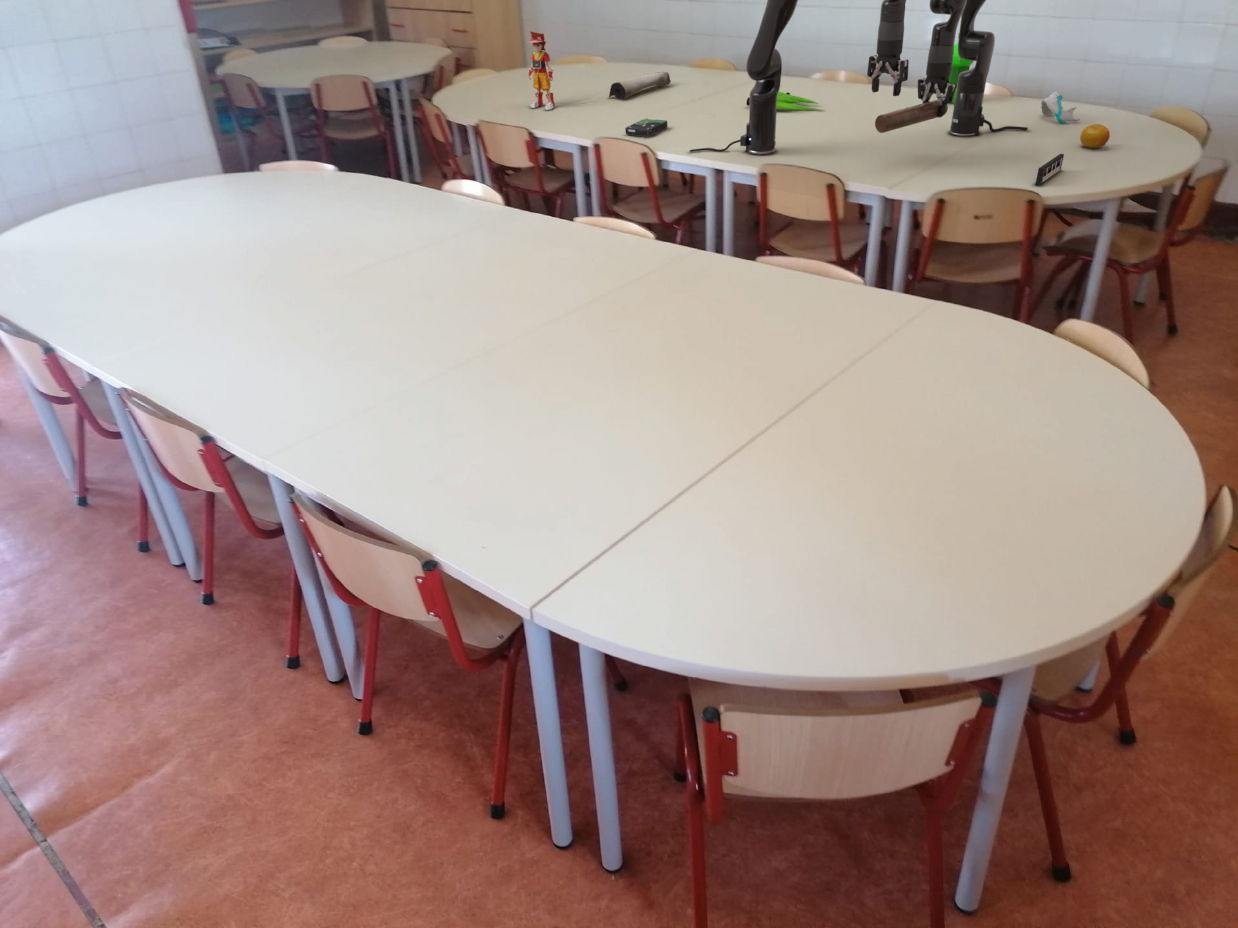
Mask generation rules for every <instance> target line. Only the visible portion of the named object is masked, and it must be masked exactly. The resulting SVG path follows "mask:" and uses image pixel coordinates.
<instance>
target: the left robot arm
mask: <svg viewBox="0 0 1238 928" xmlns="http://www.w3.org/2000/svg"><path fill="white" fill-rule="evenodd" d="M798 2H799V0H767V1H766V5H765V7H764V12H763V15H762V18H761V22H760V25H759V28H758V32H757V35H756V37H755V40H754V42H753V45H752V46H751V50H750V51H749V54H748V57H747V59H746V72H747V75H748V77H749V78H750V80H753V81H754V82H755V83H754V85H753V87H752V89H751V90H750V93H749V97H750V105H749V106H748V107H749V109H748V122H747V123H746V124H745V125H746V127H745V129H746V130H745V132H746V133H745V134H743V135H741V136H740V139H737V140H734V141H732V142H730V143H729V144H728V145H727V146H726V147H725V148H722V149H719V148H713V147H701V148H694V149H689V153H695V152H701V151H714V152H719V153H720V152H725V151H727V150H728V149H729V148H730V147H731V146H733V145H735V144H737V143H740V144H739V146H740V147H745V152H746V153H749V154H751V155H757V156H761V155H762V156H765V155H771V154H773V153H775V152H776V146H777V141H776V131H777V110H778V109H777V95H778V92H780V89H781V81H782V69H783V66H782V65H783V61H782V60H783V59H782V56H781V53H780V52H779V50H778V49H777V48H776V46H777V43H778V41H779V38H780V36H781V35H782V34H783V32H784V31H785V29H786V27H787V25H788V24H789V23H790V21H791V19H792V17H793V15H794V14H795V11H796V8H797V6H798ZM906 4H907V0H882V2H881V6H880V15H879V25H878V29H877V41H876V54H874V55H869V56H868V63H867V73H866V76H867V77H868V78H871V92H872V93H873V94H874V93H878V92H879V91H880V77H881V76H882V74H887V75H890V77H891V78H892V80H893V82H894V83H893V87H892V88H893V89H892V96H893V97H899V96H900V94H901V92H902V83H903V82H906V81H908V79H909V64H910V63H909V62H910V61H909V59H901V55H902V53H903V47H904V37H905V35H904V34H905V14H906Z"/></svg>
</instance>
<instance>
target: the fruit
mask: <svg viewBox="0 0 1238 928" xmlns="http://www.w3.org/2000/svg"><path fill="white" fill-rule="evenodd" d="M1110 135H1111V134H1110V130H1109V128H1108V127H1107V126H1106V125H1103V124H1101V123H1100V124H1099V123H1098V124H1097V123H1094V124H1090V125H1088V126H1086V127H1084V128H1083V130H1082V131H1081V133H1080V137H1079V139H1080V143H1081V146H1083V147H1085V148H1089V149H1100V148H1101V147H1104V146H1105V145H1106V144H1107V143H1108V141H1109V139H1110V138H1111V137H1110Z"/></svg>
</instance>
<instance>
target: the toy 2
mask: <svg viewBox="0 0 1238 928" xmlns="http://www.w3.org/2000/svg"><path fill="white" fill-rule="evenodd" d="M745 103H746V106H748V107H749V105H750V96H749V97H747V99H746V102H745ZM799 103H803V104H804V103H805V104H818V105H819V104H820V103H819V102H817V101H815V100H812V99H809V98H805V97H801V96H797V95H793V94H791V93H790V92H785V93H784V91H783V92H782V91H779V92H778V95H777V110H780V111H781V110H782V111H783V110H784V111H821V108H815V107H810V106H804V105H800V104H799Z"/></svg>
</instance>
